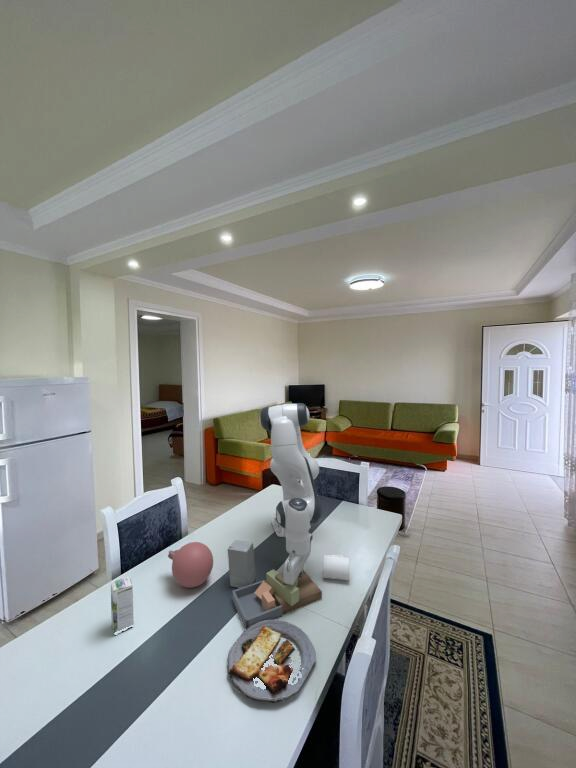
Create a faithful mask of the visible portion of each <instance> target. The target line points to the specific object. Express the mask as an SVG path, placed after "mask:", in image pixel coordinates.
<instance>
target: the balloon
mask: <svg viewBox="0 0 576 768" xmlns="http://www.w3.org/2000/svg"><path fill="white" fill-rule="evenodd" d="M167 557H168V559H170V560H172V564H171V574H172V576H173V578H174V581H175V582H176V583H177V584H178V585H180V586H181V587H183V588H188V589H189V588H190V589H191V588H192V589H193V588H196V587H199V586H201V585H202V584H203V583H205V581H207V580H208V578H209V577H210V575H211V574H212V572H213V571H212V570H213V568H214V556H213V553H212V551H211V549H210V548H209V547H208V546H207V545H206V544H205V543H203V542H200V541H192V542H188V543H186V544H184V545H183V546H181V547H180V548H179V549H175V550H169V551H168V554H167Z"/></svg>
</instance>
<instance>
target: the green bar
mask: <svg viewBox="0 0 576 768" xmlns="http://www.w3.org/2000/svg"><path fill="white" fill-rule="evenodd" d="M283 579H284V573H283V574H282V573H281V572H278V571H277V570H275V569H274V568H273V569H271V570H270V571H268V572H266V573H265V581H266V583H267V584H268V585H270V586H271V587H272V588H273V590H274V591H275V593H276V594H278V595H279V596H280V597H281V598H282V599H284V600H285V601H286V602H287V603H288V604H289V605H291V606H293V605H294V604H296V603H297V602H298V601H299V588H297V587H296V586H295V585H289V584H285V583H284V580H283Z"/></svg>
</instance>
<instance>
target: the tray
mask: <svg viewBox="0 0 576 768" xmlns="http://www.w3.org/2000/svg"><path fill="white" fill-rule="evenodd" d="M263 581H265V582H266V579H263V580H260V581H257V582H253V584H251V585H248V586H245V587H242V588H236V589H233V590H231V601H232V603H233V606H234V608H235V607H236V608H235V610H236V612H237V614H238V616H239V618H241V619H240V620H242V621H241V623H242V622H243V623H242V625H243V627H244V629H247V628H248V627H249V626H252V625H254V624H256V623H258V622H261V621H264V620H278V619H280V618H283V615H282V605H280V606H278V607H277V606H276V604H275V608H273V609H270V610H267V611H264V609H263V608H262V601H261V600H260V599H259V598H258V597H257V596H256V595H255V593H254V592H255V591H256V590H257V589H258V587H259V586H260V585H261V583H262V582H263Z"/></svg>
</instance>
